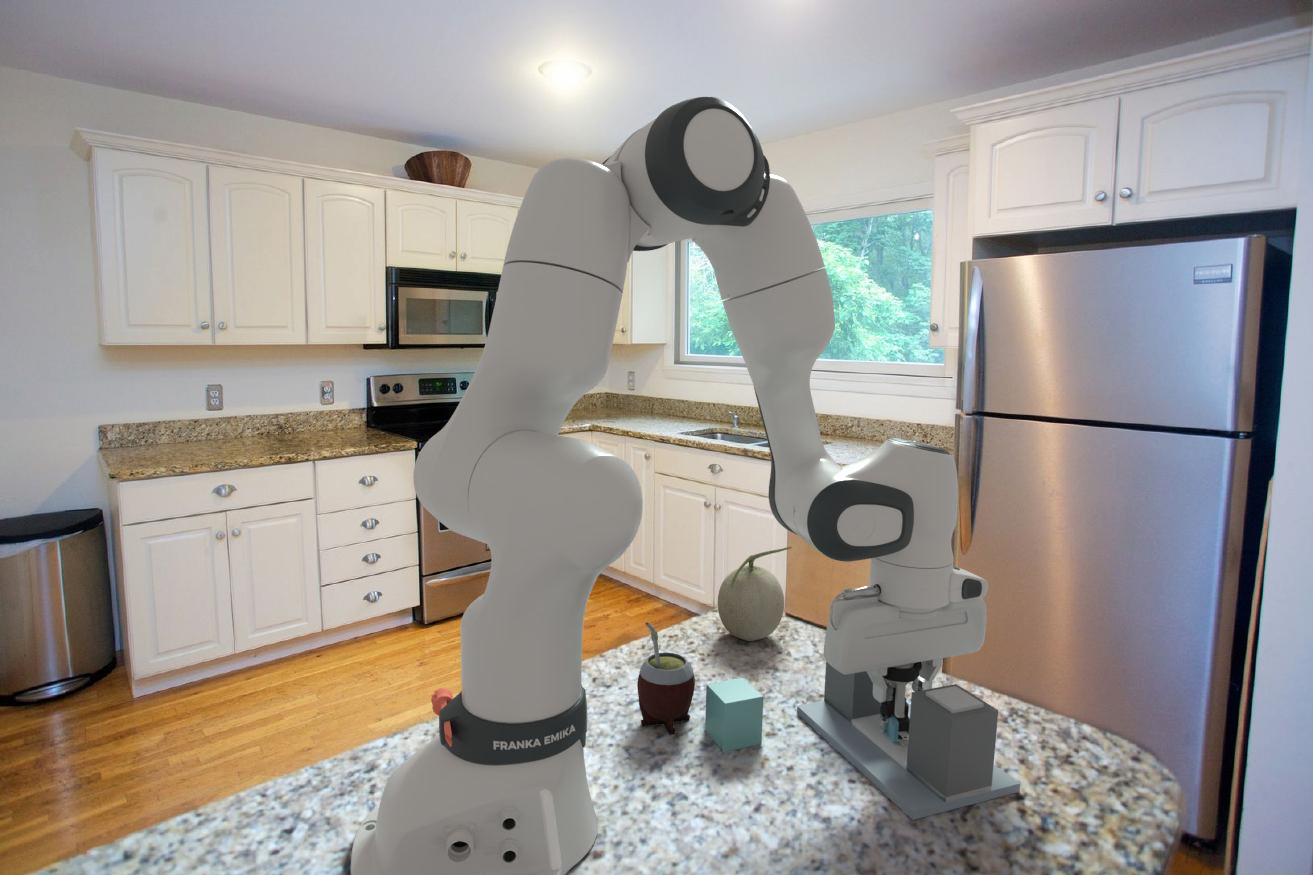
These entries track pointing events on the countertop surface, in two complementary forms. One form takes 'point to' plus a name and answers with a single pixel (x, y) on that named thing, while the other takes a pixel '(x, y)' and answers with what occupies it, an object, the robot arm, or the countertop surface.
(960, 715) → the gray block stand
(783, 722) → the countertop surface
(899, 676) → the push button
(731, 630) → the fruit
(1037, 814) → the countertop surface
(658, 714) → the mate gourd
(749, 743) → the block
